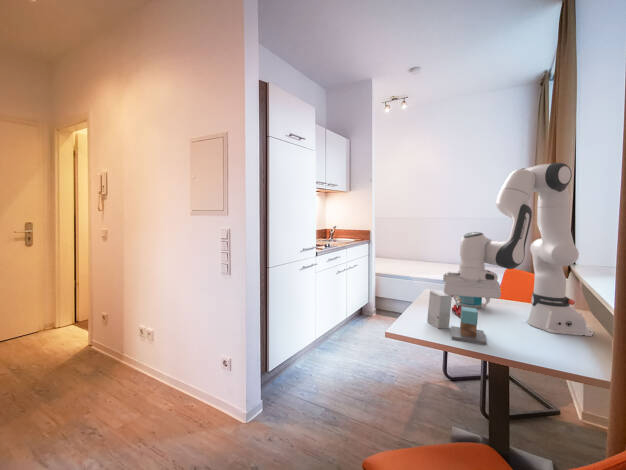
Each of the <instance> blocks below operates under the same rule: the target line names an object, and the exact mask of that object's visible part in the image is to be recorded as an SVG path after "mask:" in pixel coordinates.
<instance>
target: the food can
mask: <svg viewBox="0 0 626 470" xmlns="http://www.w3.org/2000/svg"><path fill="white" fill-rule="evenodd" d="M458 272H460V270H458ZM458 297H459V298H461V301H462V302H461V303H460V305H461V307H469V308H477V309H481V308H482V303H483V298H482V297H470V296H458ZM480 307H481V308H480Z"/></svg>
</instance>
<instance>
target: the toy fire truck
mask: <svg viewBox="0 0 626 470" xmlns="http://www.w3.org/2000/svg"><path fill="white" fill-rule="evenodd" d="M452 298H453V295H452ZM456 299H457V301H460V303H461V302H462V301H461V298H459V297H458V295H457V298H456ZM461 307H462V306H461V305H460V306H456V303H455V304H453V306H451V311H452V314H454V315H456V316H457V317H458V318H460V319H461Z"/></svg>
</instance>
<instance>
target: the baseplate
mask: <svg viewBox="0 0 626 470" xmlns="http://www.w3.org/2000/svg"><path fill="white" fill-rule="evenodd" d="M450 333H451V340H452V341H453V340H454V341H458V342H459V341H460V342H466V343H471V344H477V343H478V345H484V346H487V339H486V336H485V333H484V330H481V329H477V332H476V337H472V336H465V335H461V333H460V326H455V325H451V332H450Z"/></svg>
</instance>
